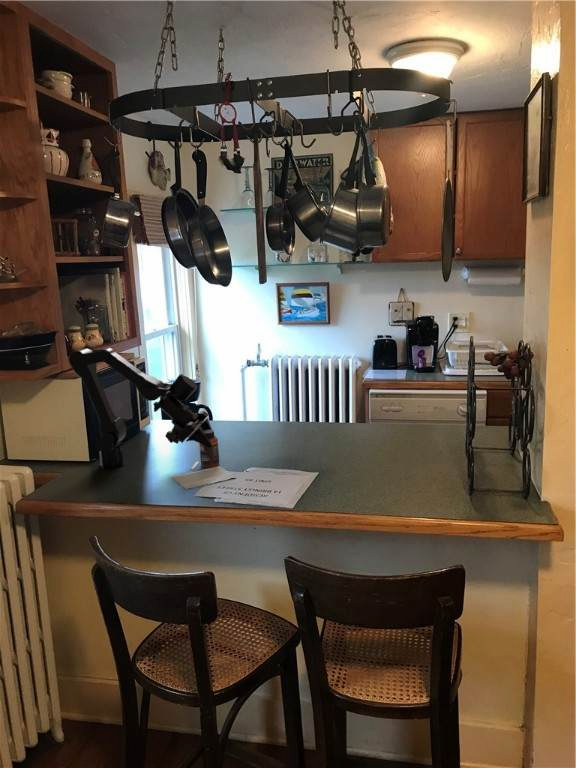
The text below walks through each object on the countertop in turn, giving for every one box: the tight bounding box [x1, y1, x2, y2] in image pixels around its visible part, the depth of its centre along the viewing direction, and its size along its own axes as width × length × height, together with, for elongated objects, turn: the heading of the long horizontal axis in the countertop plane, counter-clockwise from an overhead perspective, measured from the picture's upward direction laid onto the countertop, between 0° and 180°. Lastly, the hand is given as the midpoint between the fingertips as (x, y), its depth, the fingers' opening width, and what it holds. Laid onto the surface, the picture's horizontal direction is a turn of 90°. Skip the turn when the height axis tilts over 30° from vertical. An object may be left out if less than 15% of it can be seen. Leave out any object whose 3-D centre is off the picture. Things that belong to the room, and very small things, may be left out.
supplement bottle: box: [198, 429, 220, 469], centre depth 197 cm, size 6×6×11 cm
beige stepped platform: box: [171, 465, 230, 490], centre depth 187 cm, size 16×12×1 cm
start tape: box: [190, 460, 200, 470], centre depth 199 cm, size 1×7×1 cm, turn 173°
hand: (213, 443), depth 197 cm, fingers closed on supplement bottle, 6 cm apart
